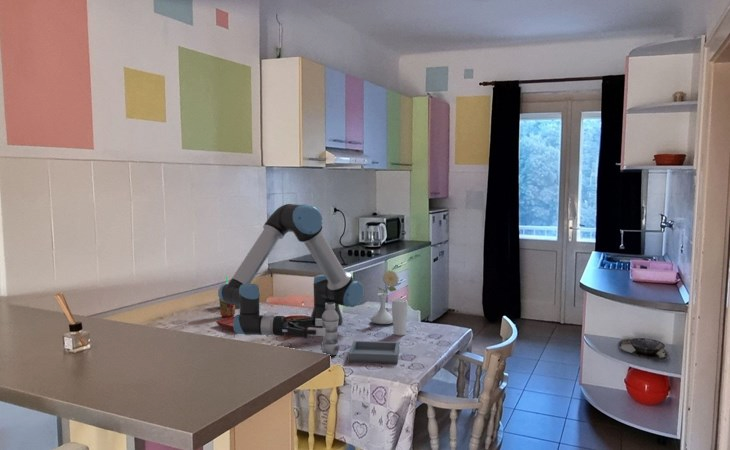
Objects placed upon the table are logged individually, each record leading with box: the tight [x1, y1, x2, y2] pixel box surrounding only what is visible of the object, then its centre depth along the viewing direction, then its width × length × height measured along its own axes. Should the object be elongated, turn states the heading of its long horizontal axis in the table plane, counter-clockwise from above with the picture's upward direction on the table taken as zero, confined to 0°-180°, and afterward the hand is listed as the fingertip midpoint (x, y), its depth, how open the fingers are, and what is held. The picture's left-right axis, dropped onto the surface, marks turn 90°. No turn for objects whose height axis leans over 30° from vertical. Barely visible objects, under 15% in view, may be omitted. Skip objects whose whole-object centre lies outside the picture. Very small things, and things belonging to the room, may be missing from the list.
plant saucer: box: [215, 316, 235, 332], centre depth 256 cm, size 18×18×3 cm
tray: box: [347, 340, 400, 365], centre depth 212 cm, size 16×18×4 cm
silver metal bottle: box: [321, 303, 340, 357], centre depth 213 cm, size 6×7×20 cm
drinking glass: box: [391, 298, 408, 337], centre depth 242 cm, size 7×7×15 cm
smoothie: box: [218, 276, 236, 319], centre depth 272 cm, size 8×8×20 cm
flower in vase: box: [370, 269, 400, 325], centre depth 261 cm, size 13×11×25 cm
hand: (328, 327), depth 213 cm, fingers open, 13 cm apart
